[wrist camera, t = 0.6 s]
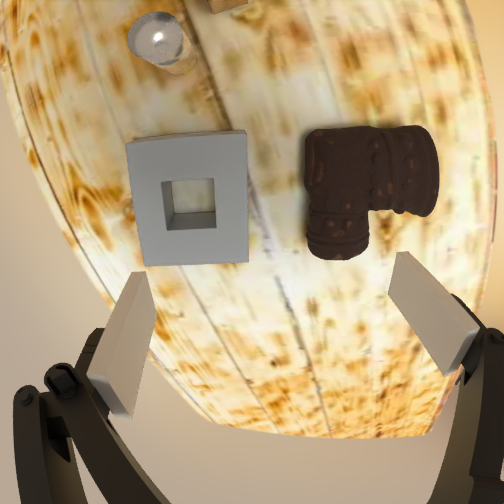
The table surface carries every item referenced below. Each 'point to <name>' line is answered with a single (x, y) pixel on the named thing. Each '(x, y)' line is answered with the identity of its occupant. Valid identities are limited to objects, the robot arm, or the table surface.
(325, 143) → the pipe
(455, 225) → the table surface
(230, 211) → the socket block
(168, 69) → the cylinder
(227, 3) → the square bit
